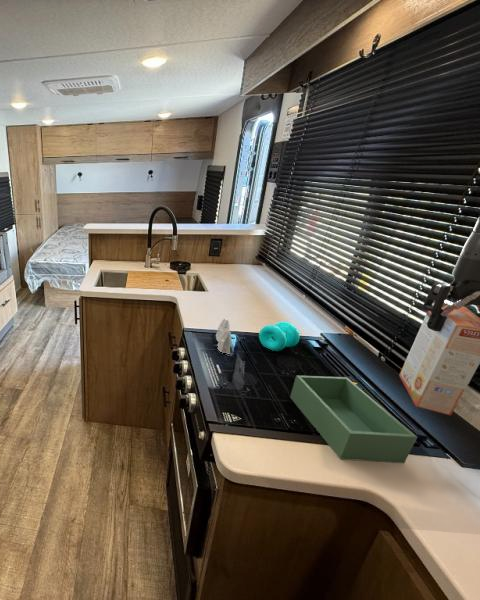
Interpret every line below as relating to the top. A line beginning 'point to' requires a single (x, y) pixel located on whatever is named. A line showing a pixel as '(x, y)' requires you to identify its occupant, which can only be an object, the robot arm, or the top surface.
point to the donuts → (279, 336)
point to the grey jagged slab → (224, 337)
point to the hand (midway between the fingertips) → (454, 330)
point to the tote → (351, 420)
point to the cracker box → (443, 361)
